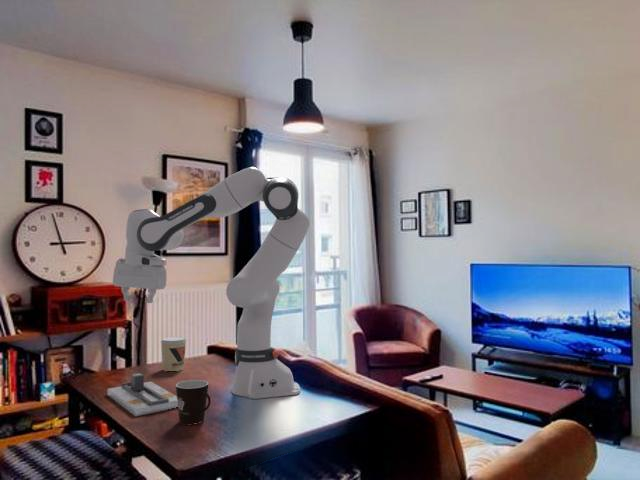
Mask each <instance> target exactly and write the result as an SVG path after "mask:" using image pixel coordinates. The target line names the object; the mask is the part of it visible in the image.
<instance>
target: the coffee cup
mask: <svg viewBox="0 0 640 480" xmlns="http://www.w3.org/2000/svg"><path fill="white" fill-rule="evenodd" d="M186 342H187V339H186V338H185V337H183V336H168V337H164V338H162V339H161V341H160V343H161V360H162V362H161V363H162V371H163V370H164V371H163V372H165V371H177V372H181V371H183V370H184V366H185V355H186ZM180 370H181V371H180Z"/></svg>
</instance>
